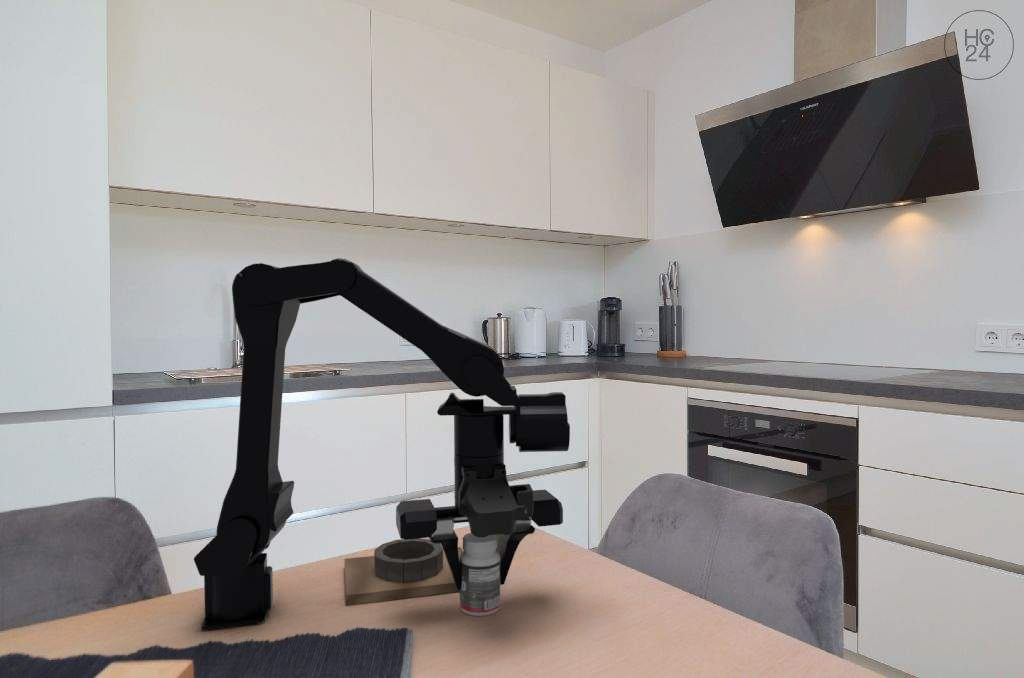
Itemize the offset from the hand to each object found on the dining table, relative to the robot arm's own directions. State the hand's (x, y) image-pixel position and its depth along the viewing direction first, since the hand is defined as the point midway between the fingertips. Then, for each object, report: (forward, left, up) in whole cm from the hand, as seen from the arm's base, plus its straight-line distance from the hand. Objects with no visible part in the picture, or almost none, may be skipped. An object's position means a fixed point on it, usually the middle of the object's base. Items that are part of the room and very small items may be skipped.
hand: (480, 586), depth 74 cm
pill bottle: (0, 0, -3) cm, 3 cm away
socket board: (-7, +11, -2) cm, 13 cm away
